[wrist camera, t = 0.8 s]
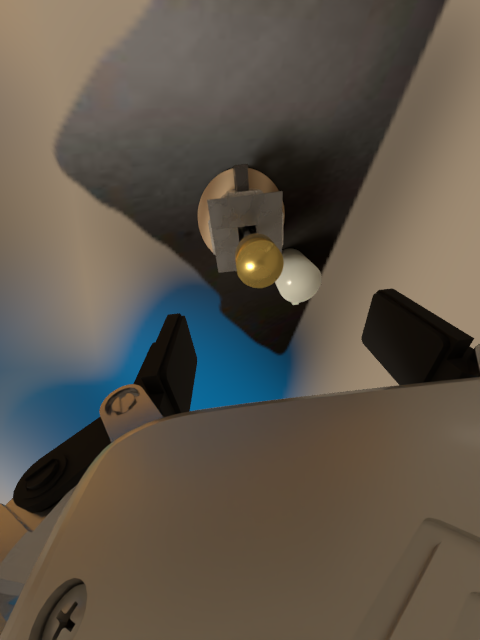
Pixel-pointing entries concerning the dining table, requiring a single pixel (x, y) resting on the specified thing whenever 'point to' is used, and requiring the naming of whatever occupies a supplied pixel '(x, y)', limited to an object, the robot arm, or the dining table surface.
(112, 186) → the dining table surface
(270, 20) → the dining table surface
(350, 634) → the robot arm
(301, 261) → the mug
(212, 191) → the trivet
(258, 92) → the dining table surface
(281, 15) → the dining table surface
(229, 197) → the grey handled container
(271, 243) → the plunger
